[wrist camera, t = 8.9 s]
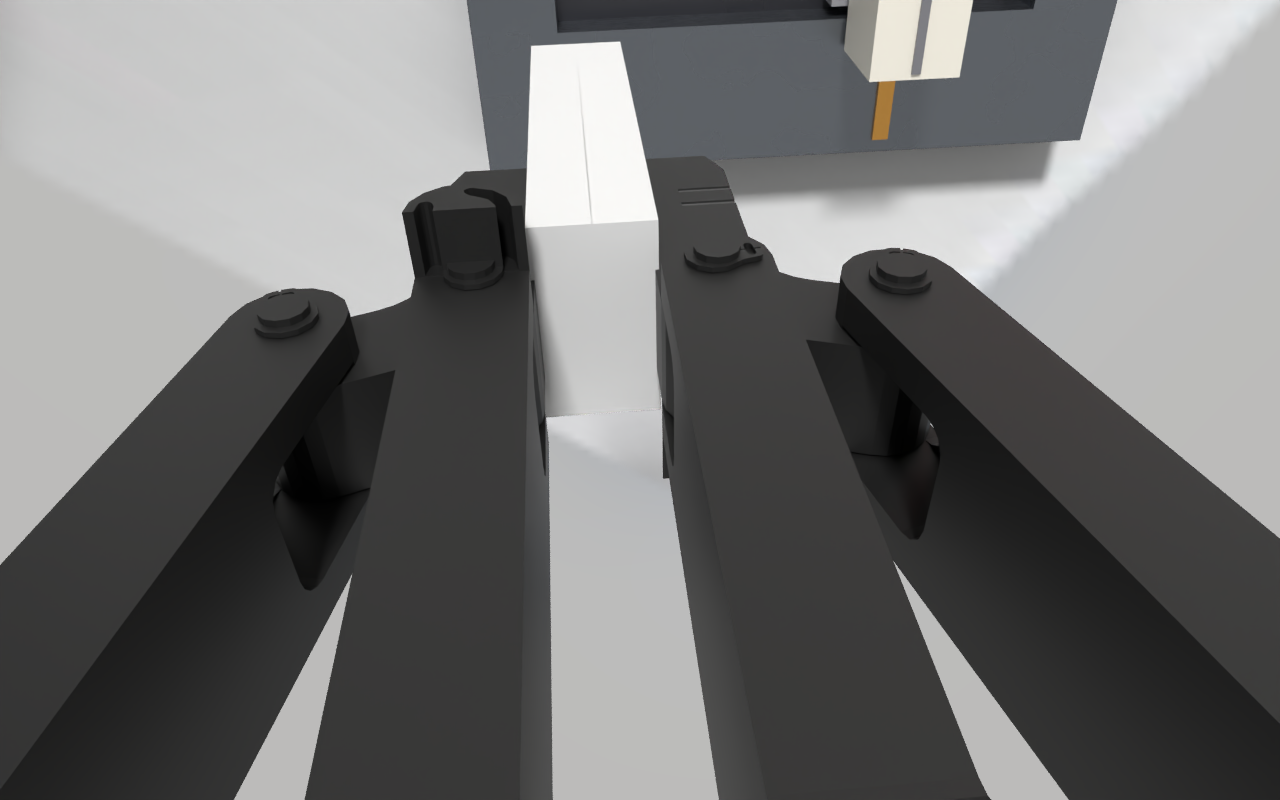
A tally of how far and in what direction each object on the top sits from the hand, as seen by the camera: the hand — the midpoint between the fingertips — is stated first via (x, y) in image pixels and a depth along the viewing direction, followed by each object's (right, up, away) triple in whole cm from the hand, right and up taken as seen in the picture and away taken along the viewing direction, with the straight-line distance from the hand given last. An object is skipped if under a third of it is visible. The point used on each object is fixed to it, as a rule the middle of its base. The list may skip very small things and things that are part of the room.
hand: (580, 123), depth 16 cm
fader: (+10, +11, +17) cm, 22 cm away
